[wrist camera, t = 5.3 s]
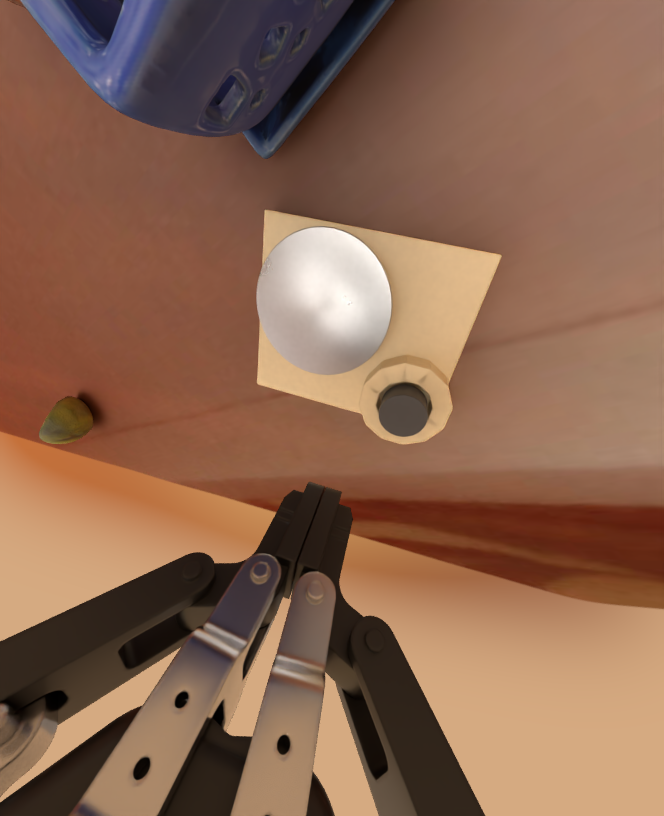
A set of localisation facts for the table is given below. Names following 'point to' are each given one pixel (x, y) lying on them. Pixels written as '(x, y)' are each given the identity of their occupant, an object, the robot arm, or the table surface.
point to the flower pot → (210, 58)
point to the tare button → (403, 410)
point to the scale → (394, 325)
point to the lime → (66, 421)
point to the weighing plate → (324, 300)
